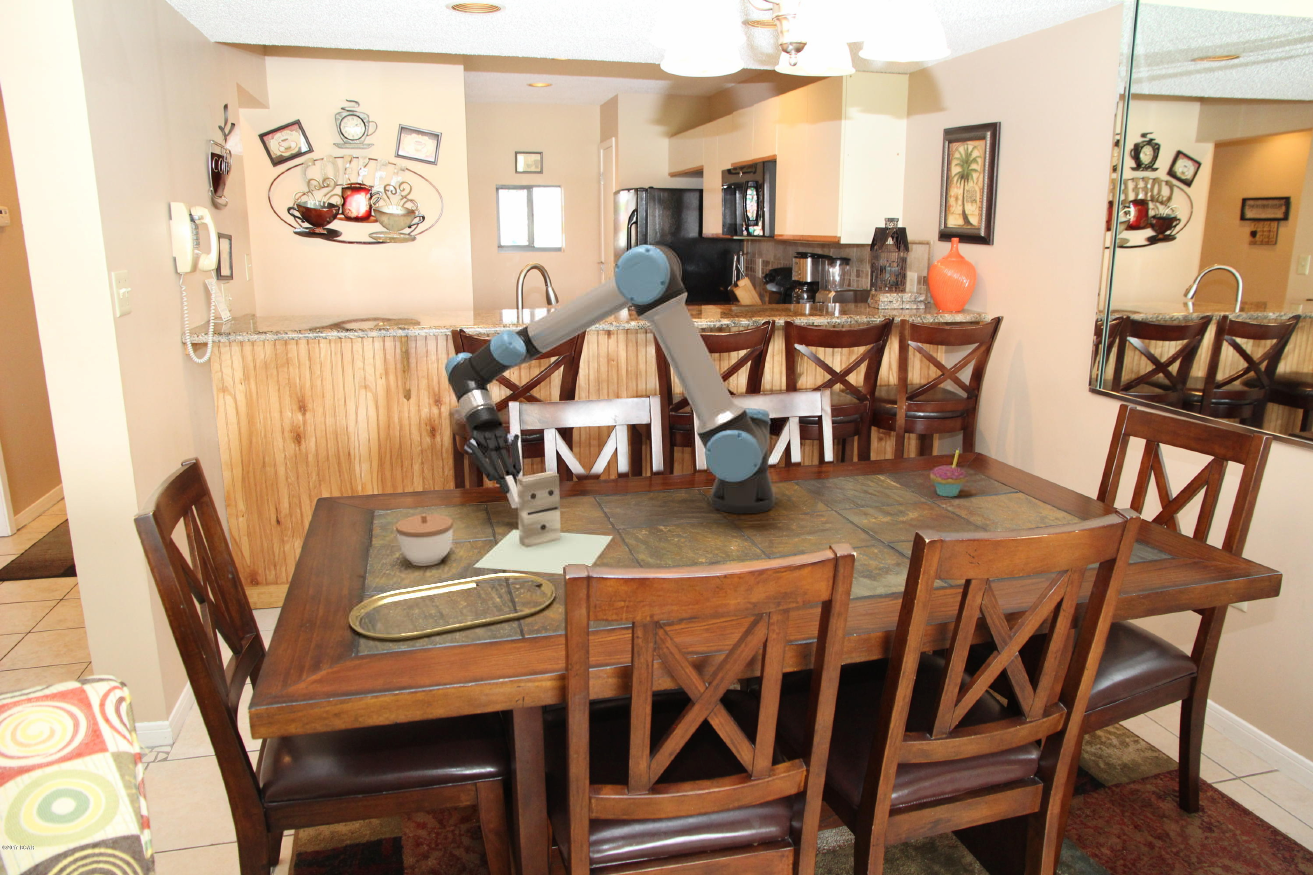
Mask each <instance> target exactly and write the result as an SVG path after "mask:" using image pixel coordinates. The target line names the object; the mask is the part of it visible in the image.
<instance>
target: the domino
mask: <svg viewBox="0 0 1313 875" xmlns="http://www.w3.org/2000/svg"><path fill="white" fill-rule="evenodd" d="M516 478H517V495H518V507H517V513H518V514H517V515H518V517H517V518H518V530H519V543H520V544H521V545H523V546H525V547H530V546H535V545H539V544H543V543H548V542H552V541H557V540H561V533H562V532H561V504H560V502H561V501H560V500H561V498H560V474H559V473H556V472H555V471H554V472H553V471H547V472H542V473H541V472H540V473H535V474H531V475H529V474H528V475H525V476H518V477H516Z"/></svg>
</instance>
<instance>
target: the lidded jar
mask: <svg viewBox="0 0 1313 875" xmlns="http://www.w3.org/2000/svg"><path fill="white" fill-rule="evenodd" d="M453 526H454V525H453V520H452V518H450V517H449V516H446V515H443V514H442V515H440V514H426V513H424V514H421V515H414V516H409V517H407V518H403V519H401V520H400V521H398V522H397V523H396V524H395V531H396V535H397V543H398V547H399V549H400V551H401V553H402V555H403V556H404V557H405V559H407V560H408V561H410V563H411V564H412V565H413V566H420V567H427V566H433V565H436V564H437V565H438V564H439V563H441V562H442V561H443V559H444V558H445V557H446V555H447V554H448V553H449V551H450V549H451V547H452V544H453Z"/></svg>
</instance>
